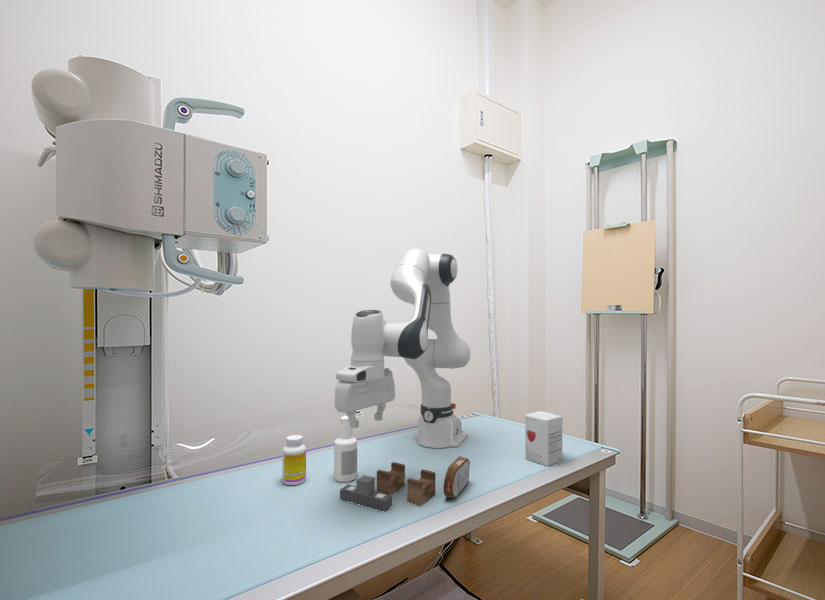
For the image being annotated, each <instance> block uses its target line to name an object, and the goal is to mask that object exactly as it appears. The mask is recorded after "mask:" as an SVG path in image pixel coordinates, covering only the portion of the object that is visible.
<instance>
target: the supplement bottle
mask: <svg viewBox="0 0 825 600" xmlns="http://www.w3.org/2000/svg"><path fill="white" fill-rule="evenodd" d="M285 438H286V439H285V442H286V445H284V447H283V448H282V468H281V469H282V473H281V474H282V477H281V478H282V480H281V481H282V483H283V484H284V485H287V486H296V485H300V484H303V483H304V482H305V481H306V479H307V477H306V476H307V447H306V445H305V444H303V441H304V439H303V438H304V437H303V435H301V434H300V435H299V434H291V435H288V436H287V437H285Z"/></svg>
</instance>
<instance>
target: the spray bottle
mask: <svg viewBox="0 0 825 600" xmlns="http://www.w3.org/2000/svg"><path fill="white" fill-rule="evenodd" d="M339 420H340V421H339V426H338V428H339V430H338V437H337V438H336V439H335V440H334V443H333V479H334V480H335V481H336V482H338V481H339V482H340V483H348V482H352V480H353V481H354V479H355V480H357V477H358V440H357V438H356V437H354V436H353V435H354V434H353V433H354V432H353V428H351V427H350V420H349V418H348V416H347V415H342V416H341V417H340V418H339Z"/></svg>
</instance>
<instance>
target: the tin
mask: <svg viewBox="0 0 825 600" xmlns="http://www.w3.org/2000/svg"><path fill="white" fill-rule="evenodd" d="M470 463H471V462H470V459H469V458H467V457H463V456H458V457H457V458H455V460H453V462H452V463H450V465H448V467H447V470H446V472H445V475H444V479H443V494H444V496H445V497H447V498H451V499H455V498H457V497H458V496H459V495H460V494H461V493H462V491H463V490H464V489H465V488H466V486H467V484H468V481H469V478H470Z"/></svg>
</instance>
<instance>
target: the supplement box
mask: <svg viewBox="0 0 825 600" xmlns="http://www.w3.org/2000/svg"><path fill="white" fill-rule="evenodd" d="M524 419H525V423H524V424H525V430H524V432H525V434H524V435H525V443H524V444H525V446H524V448H525V449H524V451H525V453H524V454H525V455H524V456H525V457H524V459H525V460H528V461H532V462H534V463H537V464H539V465H542V466H545V467H550V466H552V465H554V464H557V463H559V462H562V461H563V416H562V415H558V414H554V413H551V412H547V411H542V410H539V411H535V412H531V413H527V414H525V416H524Z"/></svg>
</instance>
